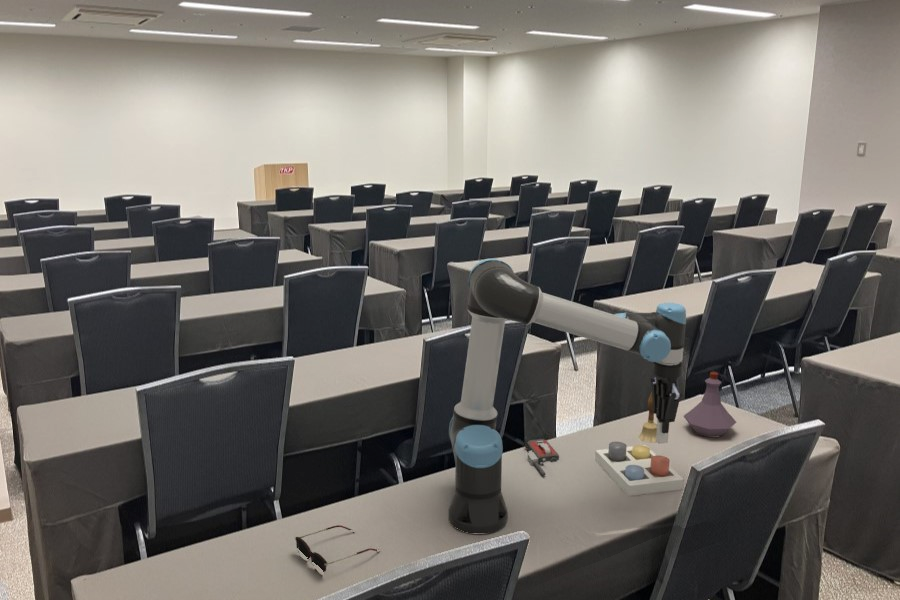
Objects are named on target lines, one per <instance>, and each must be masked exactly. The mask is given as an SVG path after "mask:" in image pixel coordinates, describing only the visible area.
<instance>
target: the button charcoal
mask: <svg viewBox="0 0 900 600" xmlns="http://www.w3.org/2000/svg"><path fill="white" fill-rule="evenodd" d="M627 447H628V446H627V443H625V442H622V441H612V442H609V443H608V449H609V452H608V458H609V459H610V460H611V461H615V462H623V461H625V460H626V449H627Z"/></svg>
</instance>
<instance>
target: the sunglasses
mask: <svg viewBox="0 0 900 600" xmlns="http://www.w3.org/2000/svg"><path fill="white" fill-rule="evenodd" d="M334 528H342V529H345V530H347V531H350V530H352V529H351V528H349V527H347V526H343V525H339V524H338V525H332V526H330V527H327V528H323V529H319V530H318V531H314V532H310V533H308V534H304V535H300V536H295V537H294V539H295V542H296V543H295V544H296V548H297V549H299V550H300V551H301V552H302V553H303V554H304V555H305V556H306V557H308V558H307V559H309V558H310V559H309V560H310V561H311V563H312V562H314V563H315V564H316V565H318V566H319V567H320V568H321V569H322V570H323V572H324V573H325V572H326V571H327V566H329V565H331V564H332V565H333V564H334V563H336V562H339V561H342V560H345V559H348V558H351V557H354V556H357V555H360V554H363V553H366V552H368V551H373V552H377V548H367V549H364V550H361V551H358V552H357V551H356V553H353V554H350V555H347V556H344V557H341V558H338V559H335V560H331V561H329V562H328V561H327V560H326V559H325V557H323V556H322V555H321V554H320V553H318V552H315V551H314V552H313V551H312V549H311V548H310V546H309V545H308V543H307V542H306V541H305V540H304V539H302V538H305V537H308V536H312V535H315V534H319V533H321V532H323V531H328V530H331V529H334Z"/></svg>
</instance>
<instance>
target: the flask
mask: <svg viewBox="0 0 900 600" xmlns="http://www.w3.org/2000/svg"><path fill="white" fill-rule="evenodd" d="M718 377H719V373H718V372H716V371H711V372H709V378H706V379H705V380H704V382H705V384H706V385H705V386H706V388H705V392H704V394H703V397H702V399H701V401H700V402H699V403H697V405H695V406H694V407H693V408H692V409H690V410H689V411H688V412H686V413H685V414H684V415H683V419H685V421H686V422H687V423H688V425H689V426H690V427H691V428H692V430H693V429H694V430H695V431H696V432H697V433H698V434H697V433H696V432H695V431H694V430H693V431H694V432H695V433H696V434H697V435H699V434H701V435H700V436H702V435H705V436H704V437H706V436H720V437H721V436H723V435H724V434H725V433H726V432H728V430H730V428H732V427H733V426H734V425H735V424H736V423H737V420H736V419H735V418H734V417H733V416H732V415H731V414H730V413H729V412H728V410H727V409H726V408H725V406H724V405H723V403H722V401H721V400H722V399H721V396H720V385H721V384H722V381H721V380H719V379H718Z"/></svg>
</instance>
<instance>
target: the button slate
mask: <svg viewBox="0 0 900 600" xmlns="http://www.w3.org/2000/svg"><path fill="white" fill-rule="evenodd" d="M625 477H626V478H627V479H628V480H629V481H634V480H642V479H644V468H643V467H641V466H638V465H628V466H626V471H625Z"/></svg>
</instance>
